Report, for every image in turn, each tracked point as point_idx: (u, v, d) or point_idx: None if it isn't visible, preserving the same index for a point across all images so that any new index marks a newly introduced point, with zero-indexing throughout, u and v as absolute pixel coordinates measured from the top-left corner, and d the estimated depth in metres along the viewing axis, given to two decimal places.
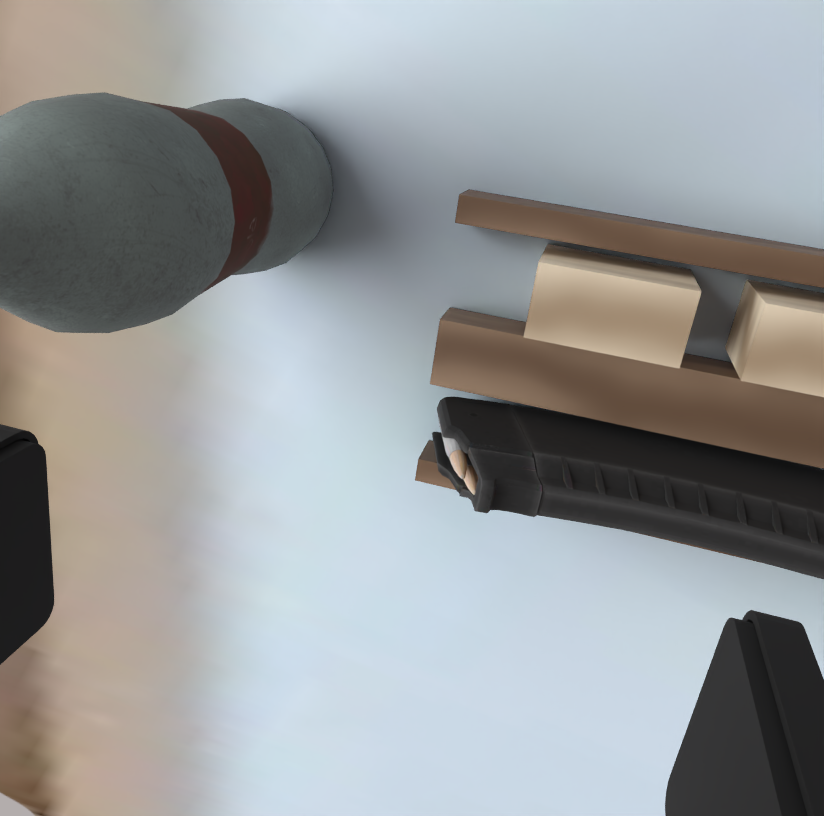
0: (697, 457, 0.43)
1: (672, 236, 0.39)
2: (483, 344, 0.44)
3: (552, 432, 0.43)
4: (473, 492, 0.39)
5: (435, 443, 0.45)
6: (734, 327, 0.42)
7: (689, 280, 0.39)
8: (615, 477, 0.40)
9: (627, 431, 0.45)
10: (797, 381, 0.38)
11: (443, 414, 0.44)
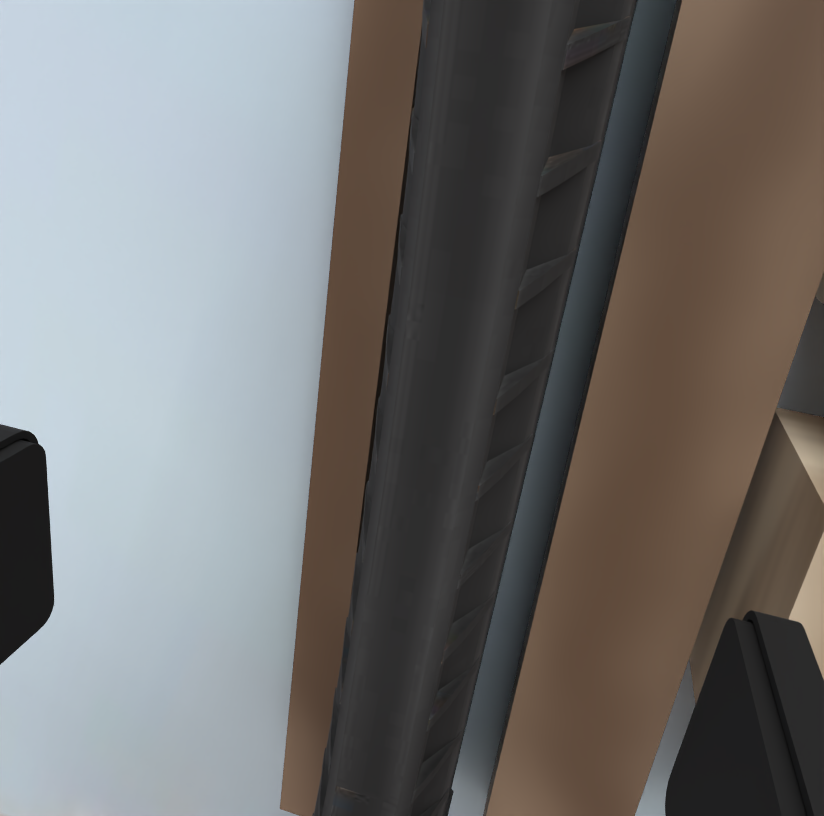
0: (543, 392, 0.18)
1: None
2: None
3: None
4: None
5: None
6: None
7: None
8: (562, 218, 0.12)
9: (586, 215, 0.18)
10: (813, 630, 0.15)
11: None
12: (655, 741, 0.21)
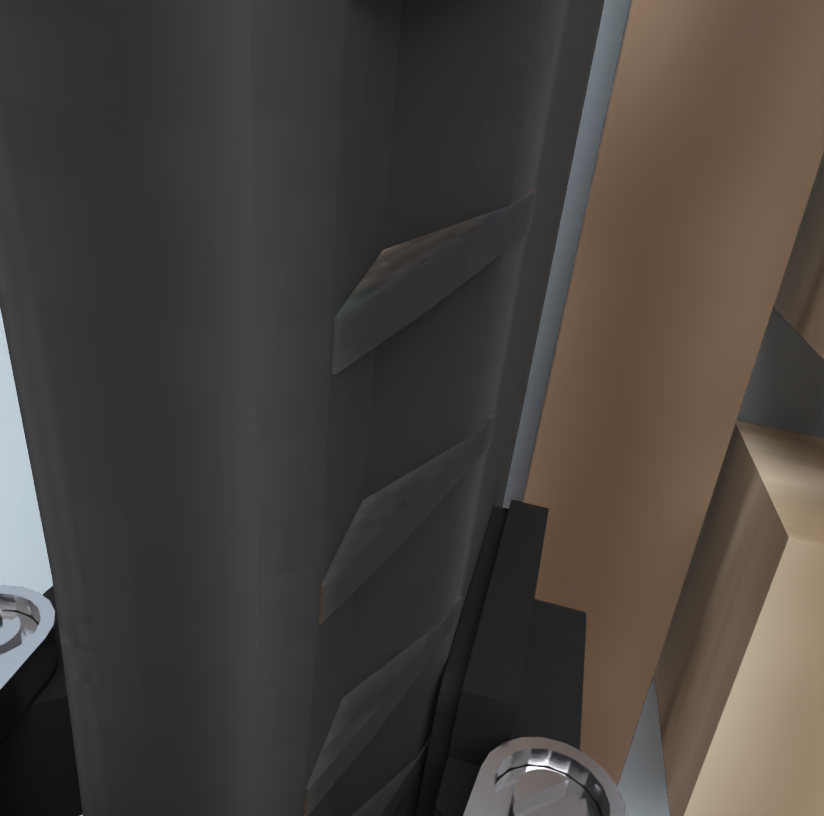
0: None
1: None
2: None
3: None
4: None
5: None
6: (800, 443, 0.18)
7: None
8: (448, 372, 0.05)
9: (544, 287, 0.11)
10: (774, 655, 0.15)
11: None
12: (619, 764, 0.20)
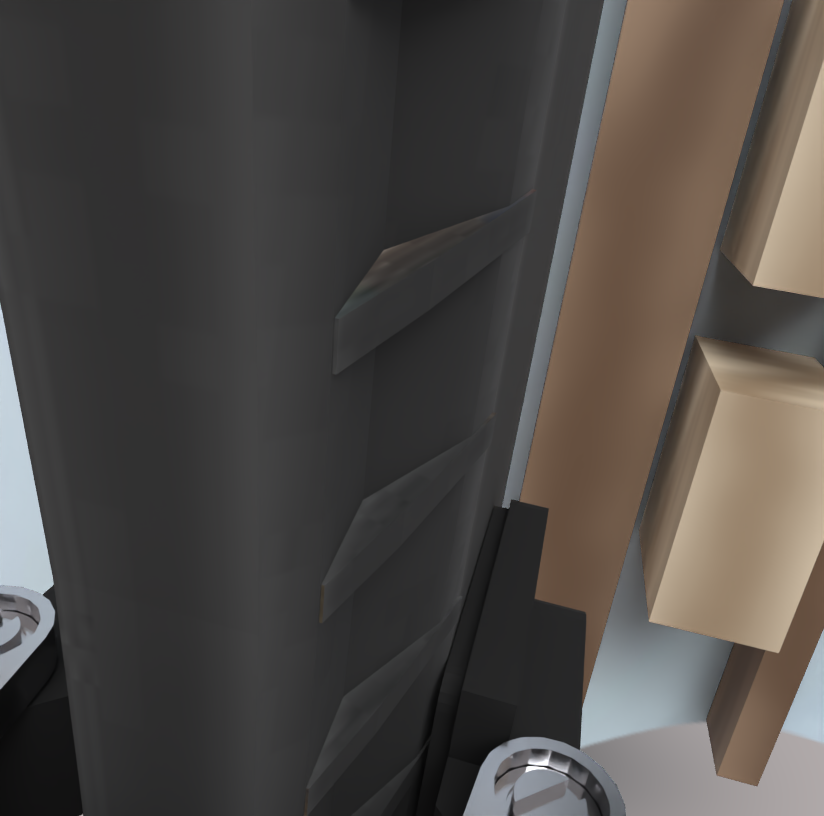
0: None
1: None
2: None
3: None
4: None
5: None
6: (740, 349, 0.26)
7: None
8: (448, 372, 0.05)
9: (544, 287, 0.11)
10: (714, 474, 0.22)
11: None
12: (612, 588, 0.28)
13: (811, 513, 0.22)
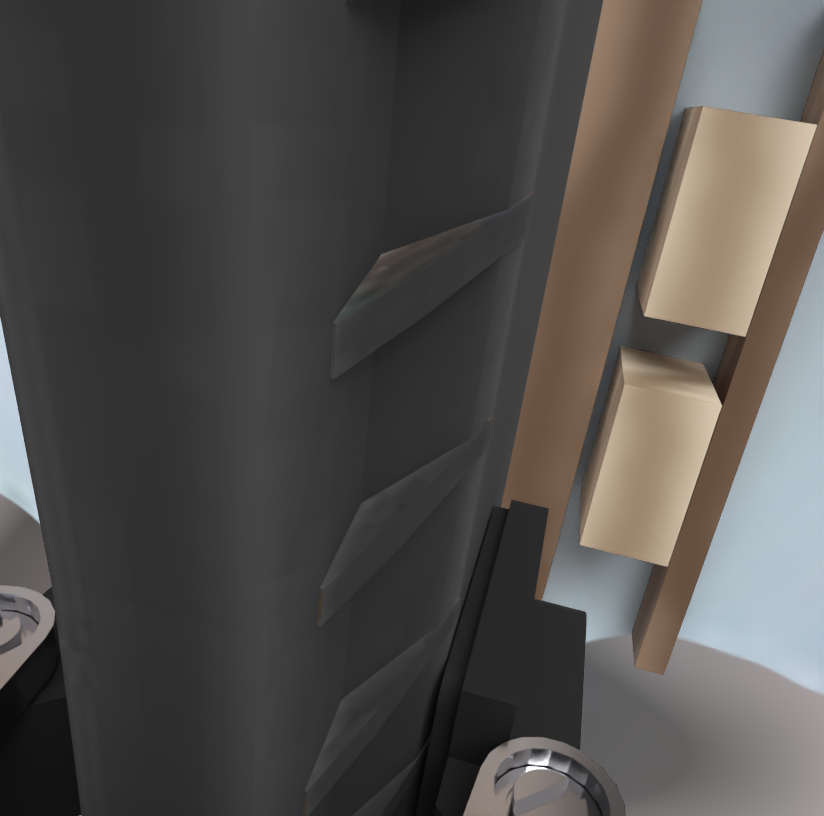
0: None
1: (794, 289, 0.32)
2: (665, 37, 0.30)
3: None
4: None
5: None
6: (650, 356, 0.37)
7: None
8: (447, 375, 0.05)
9: (543, 288, 0.11)
10: (621, 441, 0.33)
11: None
12: (559, 526, 0.38)
13: (685, 468, 0.33)
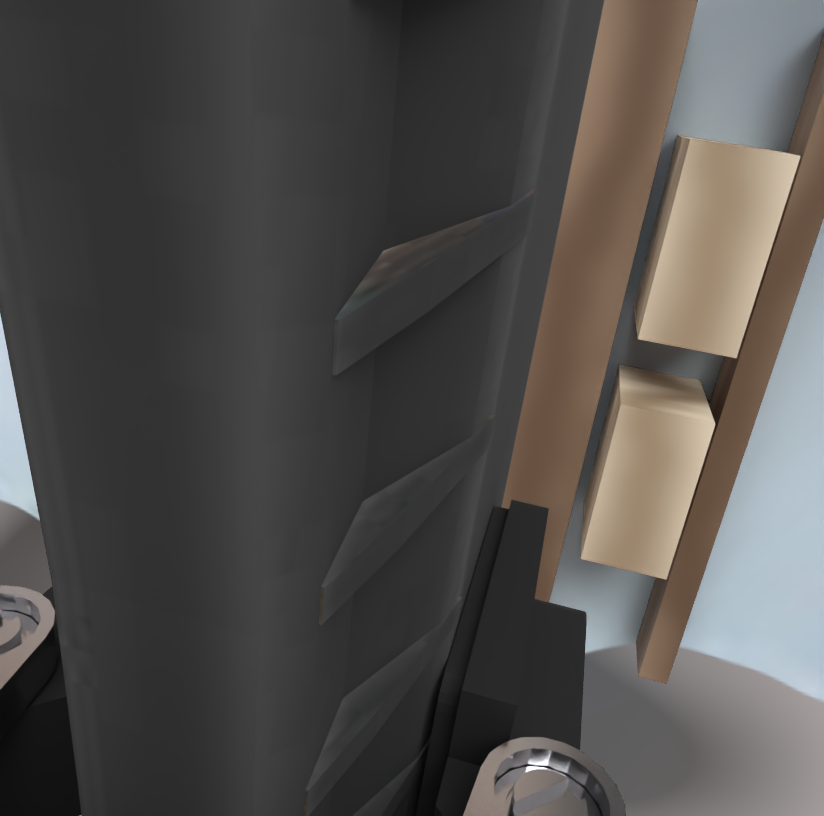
0: None
1: (784, 311, 0.33)
2: (654, 71, 0.31)
3: None
4: None
5: None
6: (648, 374, 0.38)
7: None
8: (448, 374, 0.05)
9: (543, 287, 0.11)
10: (619, 459, 0.34)
11: None
12: (561, 540, 0.39)
13: (681, 484, 0.34)
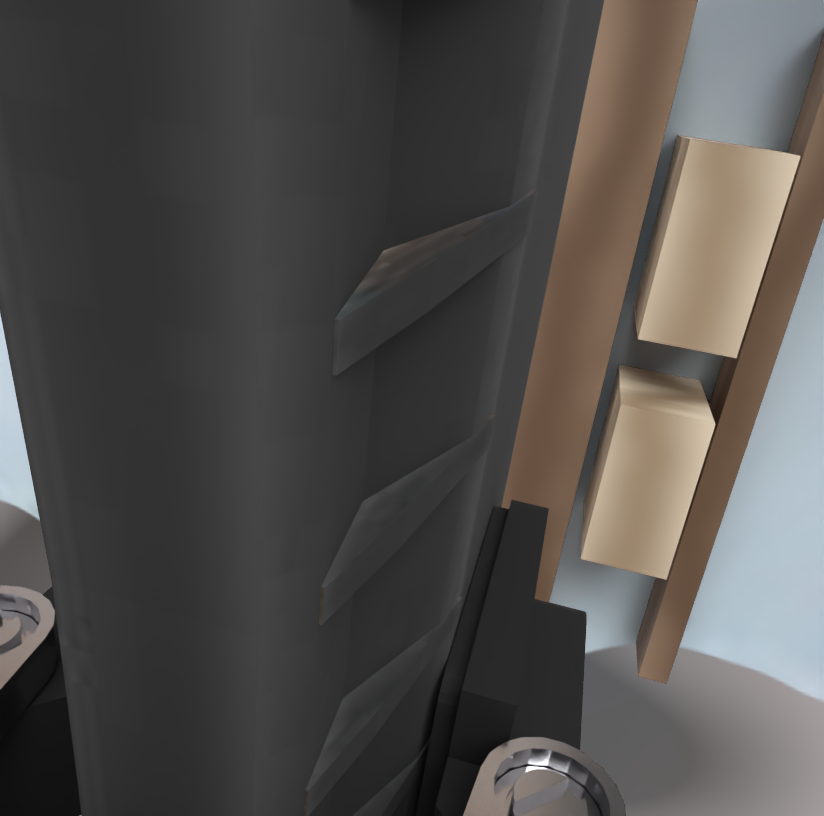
0: None
1: (784, 311, 0.33)
2: (654, 71, 0.31)
3: None
4: None
5: None
6: (648, 374, 0.38)
7: None
8: (448, 374, 0.05)
9: (543, 287, 0.11)
10: (619, 459, 0.34)
11: None
12: (561, 540, 0.39)
13: (681, 485, 0.34)
